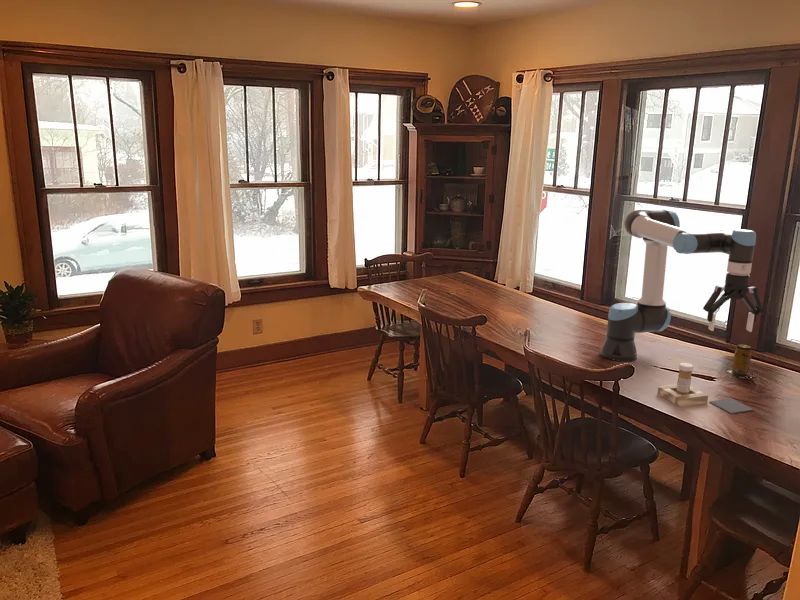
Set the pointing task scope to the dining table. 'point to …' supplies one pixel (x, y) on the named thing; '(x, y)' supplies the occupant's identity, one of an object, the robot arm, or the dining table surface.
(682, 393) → the sprinkles bottle
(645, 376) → the dining table surface
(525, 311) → the dining table surface
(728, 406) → the coaster
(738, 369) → the condiment
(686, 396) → the frame
